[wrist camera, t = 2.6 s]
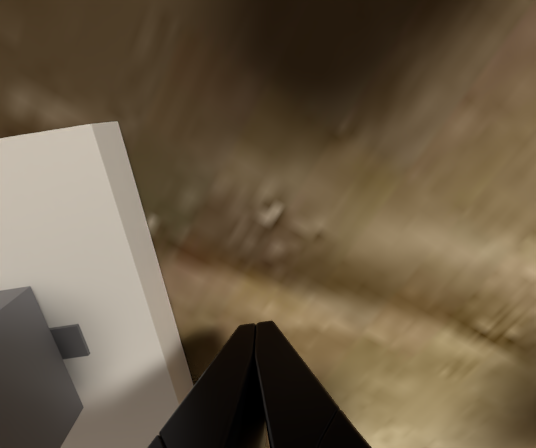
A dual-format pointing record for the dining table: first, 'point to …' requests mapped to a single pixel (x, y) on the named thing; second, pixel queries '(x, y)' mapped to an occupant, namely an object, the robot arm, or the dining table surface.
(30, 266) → the console
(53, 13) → the dining table surface
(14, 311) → the fader
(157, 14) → the dining table surface
